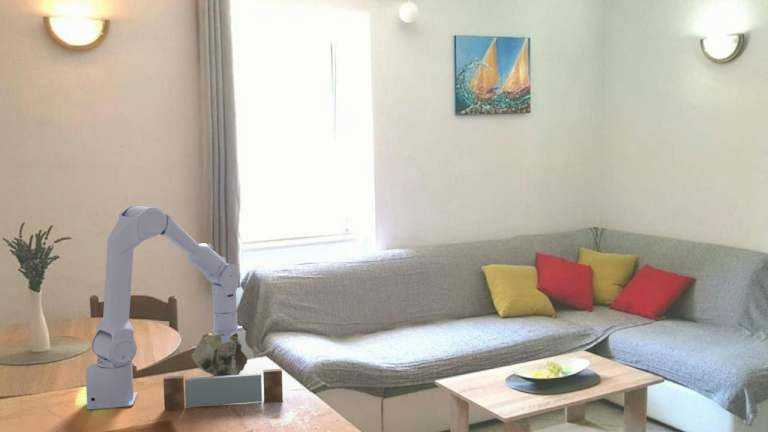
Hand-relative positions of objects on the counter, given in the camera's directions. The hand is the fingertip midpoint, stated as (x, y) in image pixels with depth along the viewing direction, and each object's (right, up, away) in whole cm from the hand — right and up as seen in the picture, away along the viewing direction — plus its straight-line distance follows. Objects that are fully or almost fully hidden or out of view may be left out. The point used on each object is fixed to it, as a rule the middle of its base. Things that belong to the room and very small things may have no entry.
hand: (227, 364), depth 179 cm
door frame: (+4, -4, -23) cm, 23 cm away
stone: (+2, +3, -11) cm, 11 cm away
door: (+4, -4, -23) cm, 24 cm away
